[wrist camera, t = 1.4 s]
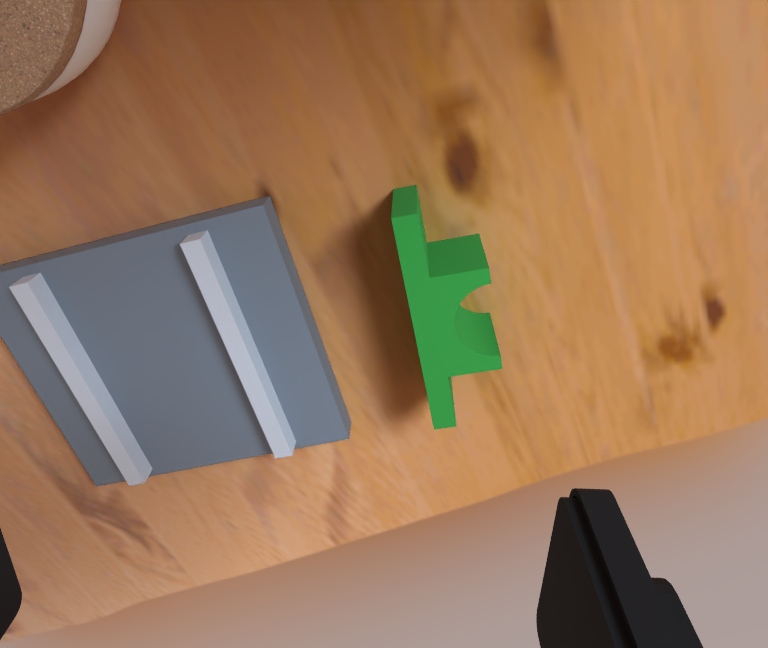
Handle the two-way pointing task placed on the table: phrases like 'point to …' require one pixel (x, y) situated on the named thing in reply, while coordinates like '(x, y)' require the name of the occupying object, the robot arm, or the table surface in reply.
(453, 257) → the pipe clamp
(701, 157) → the table surface
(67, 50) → the lidded jar
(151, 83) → the table surface
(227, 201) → the table surface
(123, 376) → the rail board
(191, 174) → the table surface
